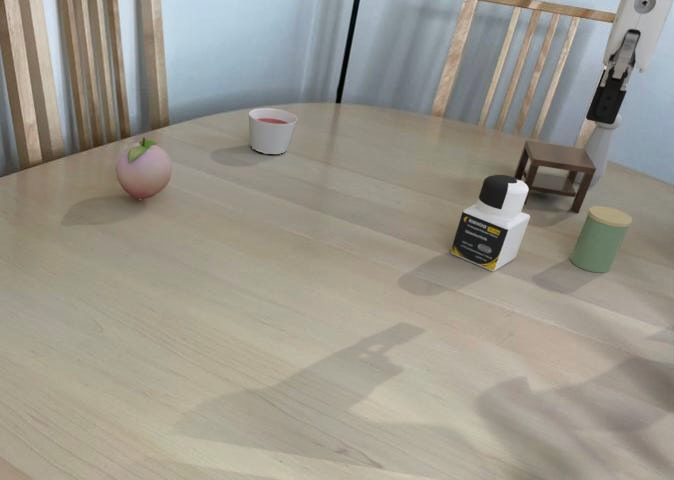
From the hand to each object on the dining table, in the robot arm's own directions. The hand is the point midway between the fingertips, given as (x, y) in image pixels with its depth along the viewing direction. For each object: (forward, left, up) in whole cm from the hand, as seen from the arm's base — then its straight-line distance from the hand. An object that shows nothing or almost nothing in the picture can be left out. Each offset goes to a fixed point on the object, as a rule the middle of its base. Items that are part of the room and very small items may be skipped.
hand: (602, 112), depth 94 cm
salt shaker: (-14, -44, -24) cm, 52 cm away
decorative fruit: (+60, -2, -24) cm, 64 cm away
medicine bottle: (+8, -3, -24) cm, 25 cm away
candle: (+45, -34, -24) cm, 61 cm away
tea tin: (-8, -7, -23) cm, 26 cm away
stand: (-5, -32, -23) cm, 40 cm away
